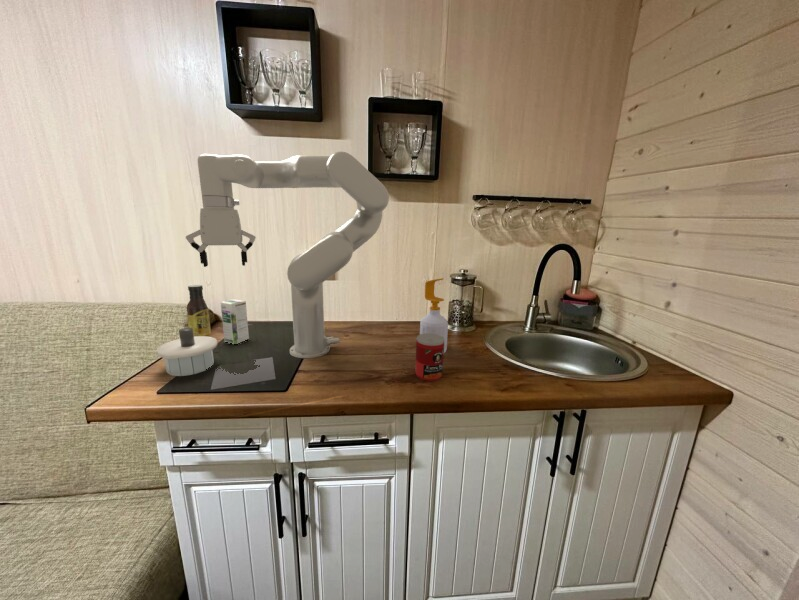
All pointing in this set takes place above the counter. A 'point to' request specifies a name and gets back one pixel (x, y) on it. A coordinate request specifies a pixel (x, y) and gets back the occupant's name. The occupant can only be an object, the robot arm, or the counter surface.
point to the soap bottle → (434, 315)
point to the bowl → (189, 364)
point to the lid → (186, 345)
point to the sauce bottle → (198, 312)
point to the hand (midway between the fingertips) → (225, 265)
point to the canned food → (429, 356)
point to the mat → (245, 375)
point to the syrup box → (234, 321)
